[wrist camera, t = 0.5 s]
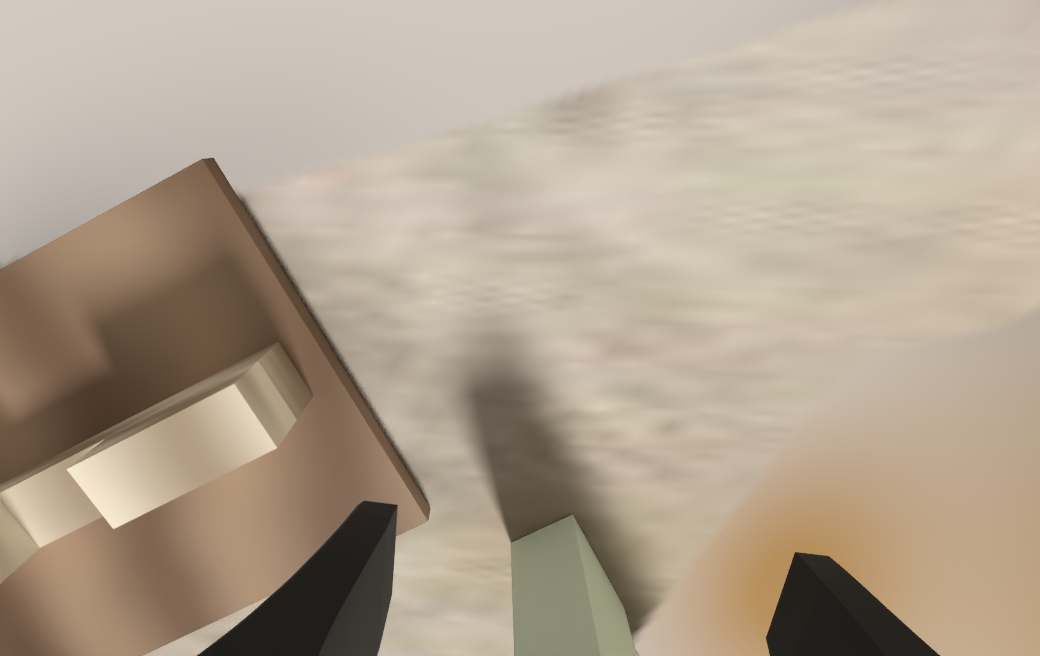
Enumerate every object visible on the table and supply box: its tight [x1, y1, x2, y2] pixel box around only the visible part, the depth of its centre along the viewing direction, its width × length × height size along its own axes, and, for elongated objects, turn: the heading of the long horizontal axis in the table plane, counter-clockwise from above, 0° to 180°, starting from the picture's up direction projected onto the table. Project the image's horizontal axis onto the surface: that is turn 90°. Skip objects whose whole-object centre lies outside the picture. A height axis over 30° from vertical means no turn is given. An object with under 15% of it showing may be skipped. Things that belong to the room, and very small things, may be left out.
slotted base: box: [0, 158, 430, 656], centre depth 20 cm, size 16×13×4 cm
